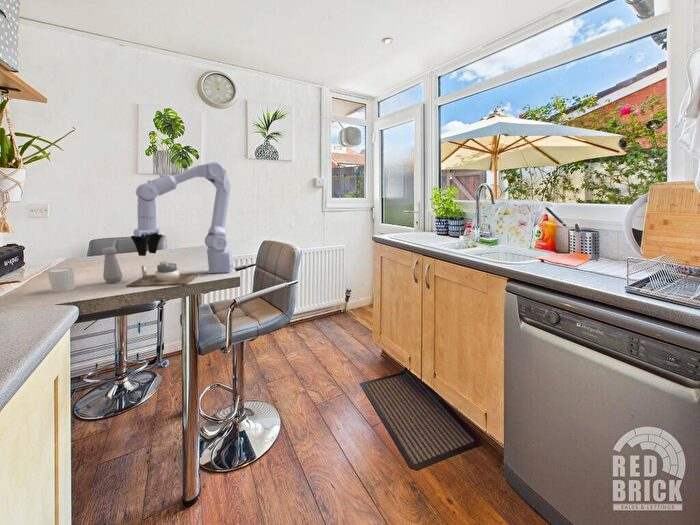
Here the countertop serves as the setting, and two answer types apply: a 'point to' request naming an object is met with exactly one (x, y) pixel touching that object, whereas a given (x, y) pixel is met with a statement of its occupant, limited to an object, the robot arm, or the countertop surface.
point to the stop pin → (144, 275)
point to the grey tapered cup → (62, 279)
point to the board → (182, 280)
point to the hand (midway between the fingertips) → (147, 254)
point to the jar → (167, 275)
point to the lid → (166, 267)
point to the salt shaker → (111, 266)
